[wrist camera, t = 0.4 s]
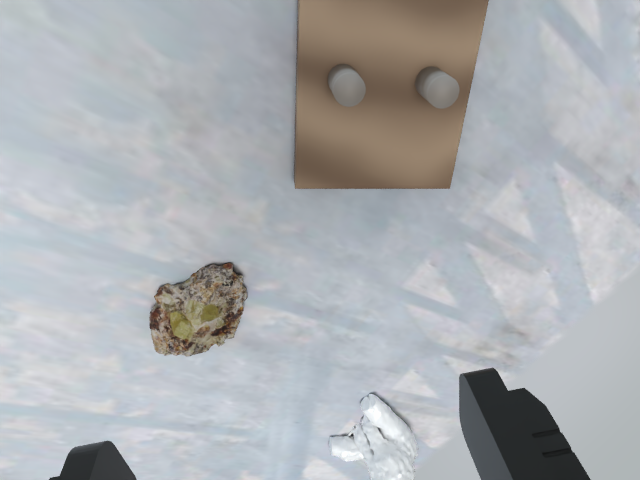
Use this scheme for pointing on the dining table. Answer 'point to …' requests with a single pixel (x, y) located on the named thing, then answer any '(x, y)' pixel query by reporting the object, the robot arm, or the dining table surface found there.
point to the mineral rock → (198, 311)
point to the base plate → (382, 91)
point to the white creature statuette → (379, 443)
